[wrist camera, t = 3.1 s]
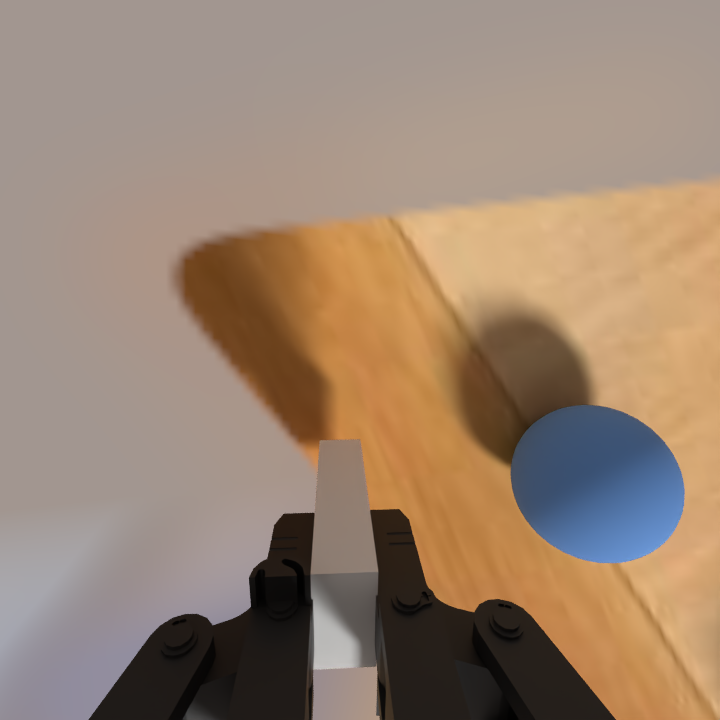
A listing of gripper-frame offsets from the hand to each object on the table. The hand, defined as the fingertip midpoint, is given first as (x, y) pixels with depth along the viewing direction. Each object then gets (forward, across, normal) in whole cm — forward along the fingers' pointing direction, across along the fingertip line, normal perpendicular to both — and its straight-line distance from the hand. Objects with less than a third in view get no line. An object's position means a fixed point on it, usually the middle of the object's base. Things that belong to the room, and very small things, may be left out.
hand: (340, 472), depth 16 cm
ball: (-1, +9, 0) cm, 9 cm away
